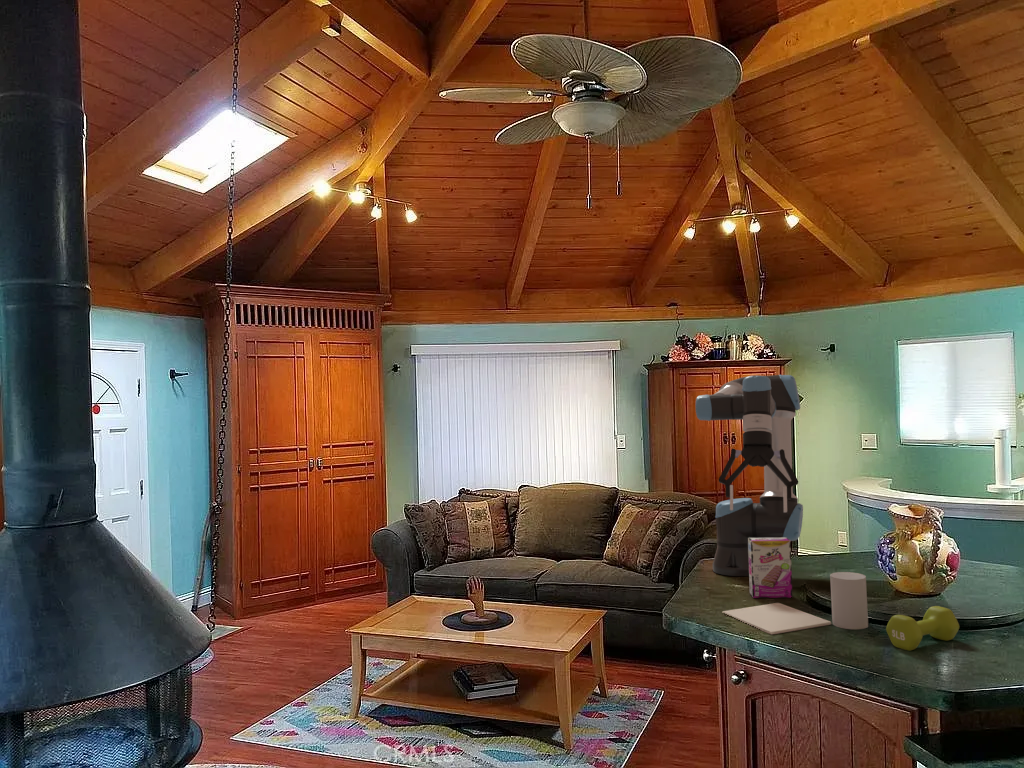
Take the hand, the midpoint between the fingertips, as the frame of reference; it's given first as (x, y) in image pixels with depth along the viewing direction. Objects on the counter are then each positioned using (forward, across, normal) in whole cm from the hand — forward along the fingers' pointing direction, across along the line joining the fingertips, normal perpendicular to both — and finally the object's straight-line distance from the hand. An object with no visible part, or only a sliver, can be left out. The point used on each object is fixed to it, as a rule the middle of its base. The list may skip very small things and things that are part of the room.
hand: (758, 511), depth 204 cm
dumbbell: (+30, +35, -12) cm, 48 cm away
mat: (+27, +4, +2) cm, 28 cm away
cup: (+27, +21, 0) cm, 35 cm away
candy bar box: (+22, +4, +23) cm, 32 cm away
